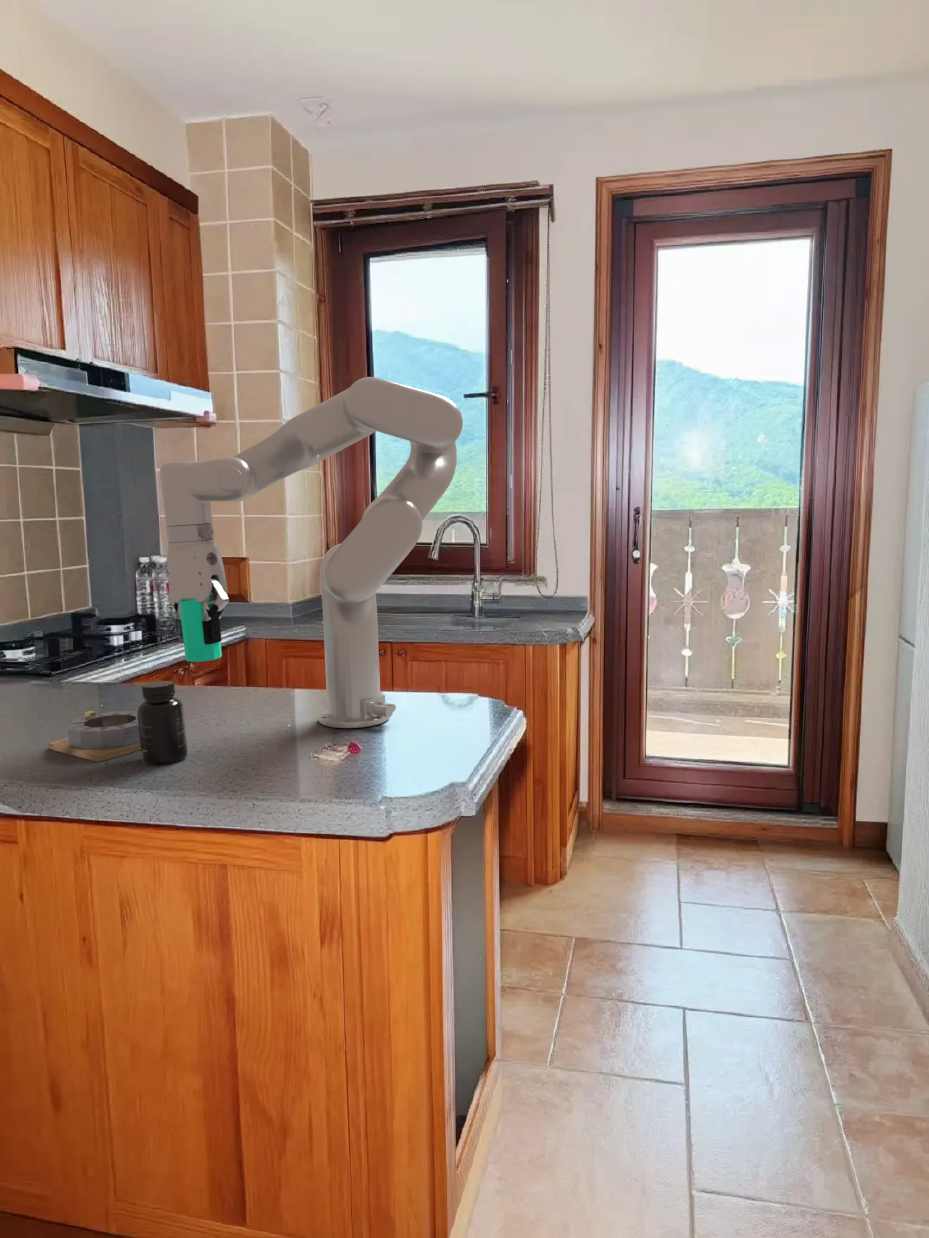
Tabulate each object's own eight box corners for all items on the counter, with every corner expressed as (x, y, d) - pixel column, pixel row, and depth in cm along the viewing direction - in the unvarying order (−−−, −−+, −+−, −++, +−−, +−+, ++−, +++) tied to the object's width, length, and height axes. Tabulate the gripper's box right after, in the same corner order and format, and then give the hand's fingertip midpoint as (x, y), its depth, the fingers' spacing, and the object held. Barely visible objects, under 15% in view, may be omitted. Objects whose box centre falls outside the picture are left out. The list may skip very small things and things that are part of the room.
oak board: (174, 739, 147) (173, 734, 147) (98, 761, 136) (98, 755, 136) (124, 728, 155) (123, 723, 155) (48, 748, 144) (48, 742, 144)
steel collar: (168, 734, 147) (167, 712, 146) (99, 754, 136) (97, 730, 136) (122, 724, 154) (121, 703, 154) (53, 742, 144) (51, 719, 143)
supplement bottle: (171, 750, 141) (166, 677, 139) (196, 757, 137) (191, 682, 135) (132, 760, 136) (126, 685, 134) (156, 768, 132) (150, 690, 130)
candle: (223, 658, 149) (216, 588, 147) (187, 663, 146) (178, 592, 145) (219, 653, 154) (212, 585, 152) (184, 657, 152) (176, 589, 150)
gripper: (242, 532, 145) (253, 640, 148) (177, 534, 155) (188, 636, 158) (205, 536, 139) (217, 649, 142) (140, 538, 149) (152, 643, 152)
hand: (202, 641), depth 150 cm, fingers closed on candle, 4 cm apart
